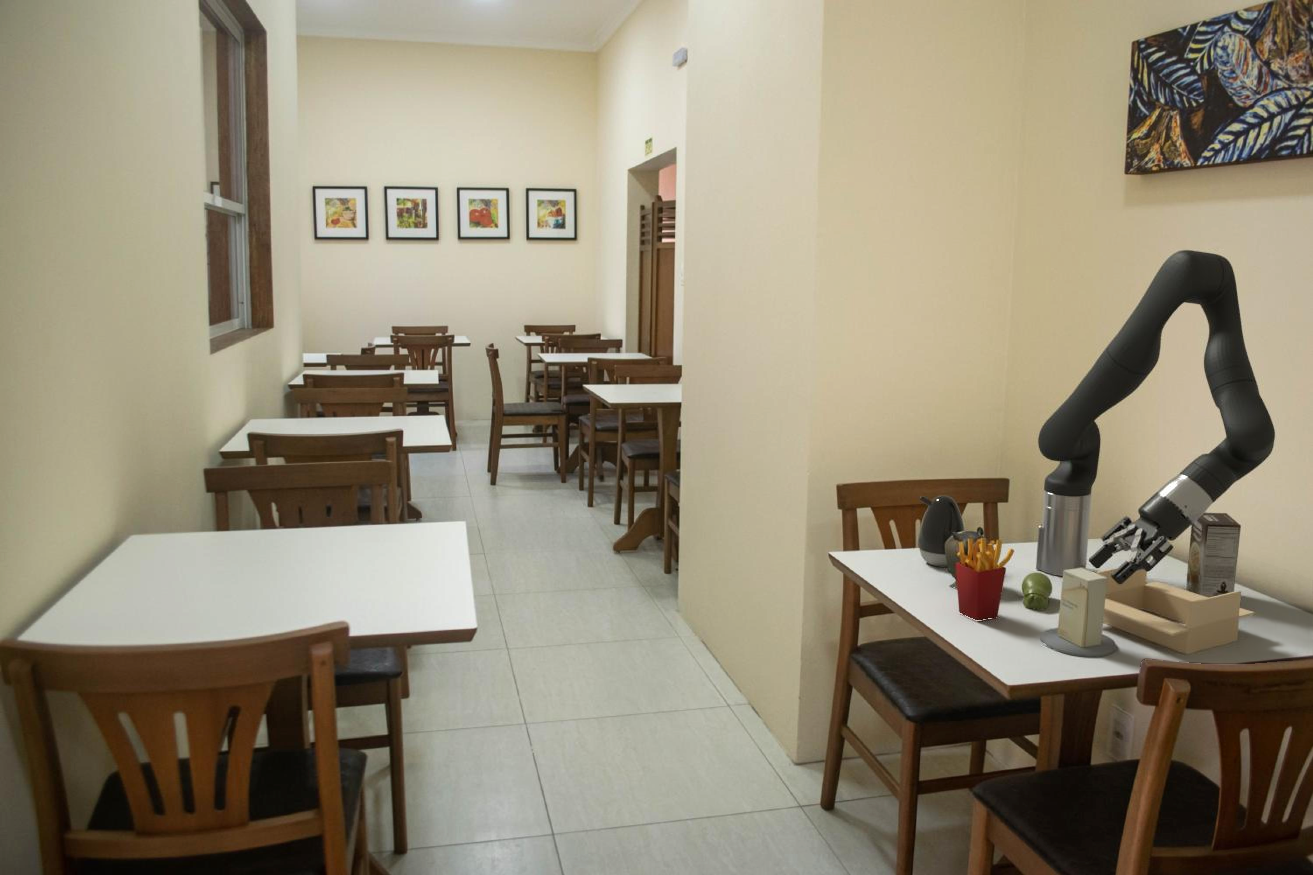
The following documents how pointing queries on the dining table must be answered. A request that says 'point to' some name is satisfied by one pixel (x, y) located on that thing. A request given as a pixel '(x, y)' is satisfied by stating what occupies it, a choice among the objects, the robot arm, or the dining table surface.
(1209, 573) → the coffee box
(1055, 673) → the dining table surface
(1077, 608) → the skincare box
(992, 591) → the french fries
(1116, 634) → the dining table surface
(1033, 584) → the pear
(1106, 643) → the coaster
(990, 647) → the dining table surface
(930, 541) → the dark grey rounded figure
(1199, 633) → the carton
